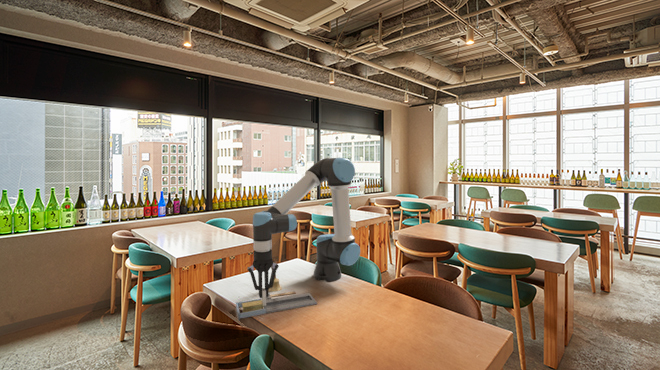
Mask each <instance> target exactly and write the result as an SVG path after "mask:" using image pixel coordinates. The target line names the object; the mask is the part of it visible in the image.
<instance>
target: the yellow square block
mask: <svg viewBox="0 0 660 370" xmlns="http://www.w3.org/2000/svg"><path fill="white" fill-rule="evenodd" d="M252 304H253V311H255V310H260V309H264V307H263V303H262V299H261V300H259V301H253V302H252Z"/></svg>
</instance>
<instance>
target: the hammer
mask: <svg viewBox="0 0 660 370" xmlns="http://www.w3.org/2000/svg"><path fill="white" fill-rule="evenodd" d="M268 295H269V296H268V297H266V300H269V299H272V298H278V297H285V296H292V295H297V294H296V291H288V292H283V293H282V292H281V293H276V294H270V293H268Z"/></svg>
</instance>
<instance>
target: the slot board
mask: <svg viewBox="0 0 660 370" xmlns="http://www.w3.org/2000/svg"><path fill="white" fill-rule="evenodd" d="M315 305H318V301H317V300H316V299H315V297H313V295H312V294H311V293H310V292H306V293H300V294H291V295H286V296H280V297H274V298H271V299H266V306H263V309H266V314H267V315H268V314H271V313H272V314H273V313H276V312H283V311H288V310H294V309H298V308H303V307H308V306H309V307H310V306H315Z"/></svg>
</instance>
